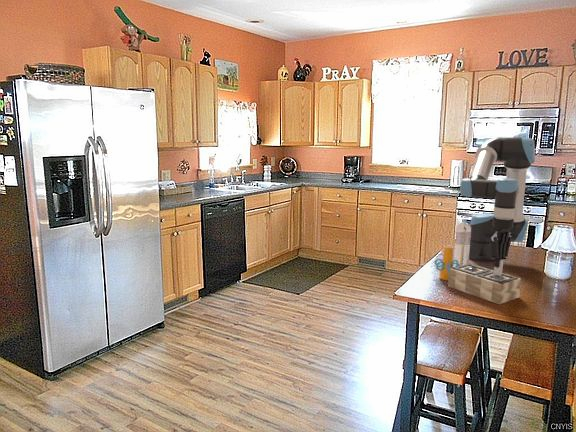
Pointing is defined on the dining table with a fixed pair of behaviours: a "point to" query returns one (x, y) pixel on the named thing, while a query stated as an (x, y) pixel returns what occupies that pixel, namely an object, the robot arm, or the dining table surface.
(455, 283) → the socket block
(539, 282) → the dining table surface
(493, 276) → the peg
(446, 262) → the ringed orange tube
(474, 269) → the peg
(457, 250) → the water bottle
